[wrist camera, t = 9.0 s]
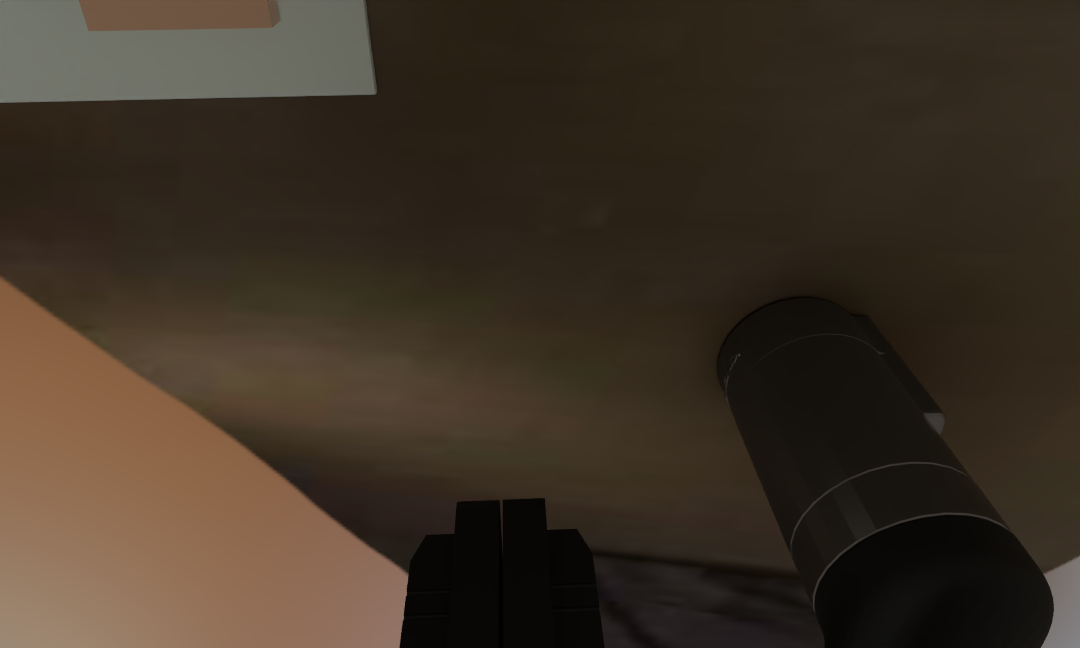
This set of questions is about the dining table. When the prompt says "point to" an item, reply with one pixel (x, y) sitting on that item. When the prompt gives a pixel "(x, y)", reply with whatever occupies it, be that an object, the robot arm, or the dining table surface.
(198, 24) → the tile
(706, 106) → the dining table surface
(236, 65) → the mat
